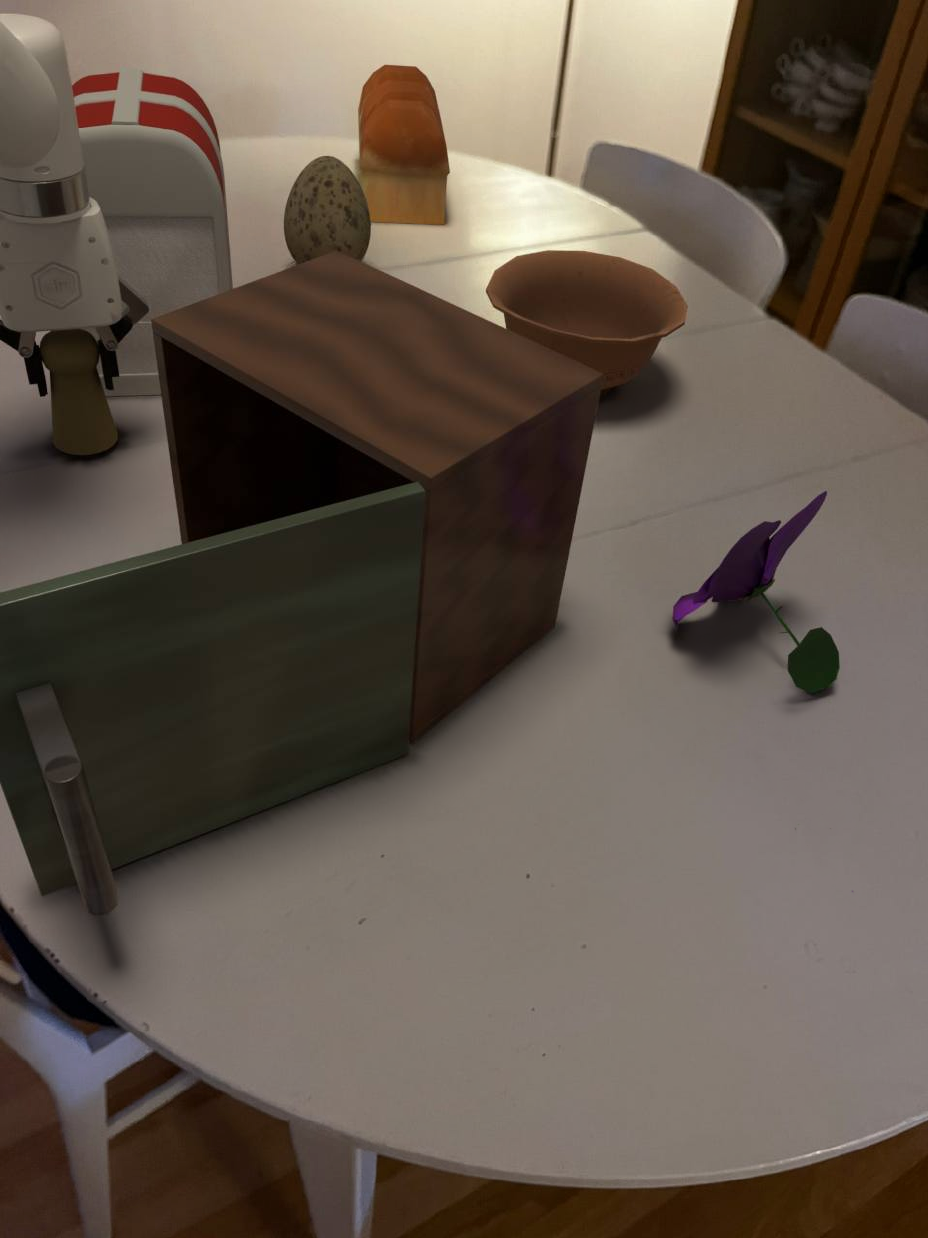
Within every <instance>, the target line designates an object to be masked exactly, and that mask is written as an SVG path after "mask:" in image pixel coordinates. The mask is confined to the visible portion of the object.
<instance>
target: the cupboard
mask: <svg viewBox="0 0 928 1238" xmlns="http://www.w3.org/2000/svg"><path fill="white" fill-rule="evenodd" d="M151 324H152V331H153V338H154V346H155V353H156V360H157V368H158V375H159V382H160V389H161V395H160V396H161V402H162V403H161V404H162V410H163V417H164V426H165V432H166V439H167V446H168V454H169V455H168V456H169V461H170V468H171V469H170V470H171V477H172V482H173V483H172V484H173V490H174V498H175V506H176V512H177V513H176V514H177V520H178V526H179V532H180V534H179V535H180V541H181V544H185V543H189V542H193V541H196V540H200V539H204V538H208V537H211V536H215V535H219V534H223V533H226V532H230V531H234V530H238V529H241V528H245V527H249V526H253V525H256V524H260V523H264V522H268V521H271V520H275V519H279V518H283V517H286V516H290V515H294V514H298V513H301V512H305V511H309V510H313V509H316V508H320V507H324V506H328V505H331V504H335V503H339V502H343V501H346V500H350V499H354V498H358V497H362V496H365V495H369V494H373V493H377V492H380V491H384V490H388V489H392V488H395V487H399V486H403V485H407V484H410V483H414V482H419V484H420V485H421V486H422V487H423V488H424V489H425V504H424V519H423V534H422V549H421V564H420V579H419V594H418V609H417V624H416V639H415V654H414V669H413V684H412V699H411V714H410V729H409V744H410V745H414V743H416V742H417V741H419V739H421V738H422V737H423V736H424V735H426V733H428V732H429V731H430V730H431V729H432V728H434V727H435V726H436V725H437V724H439V723H440V722H441V721H443V719H445V718H446V717H447V716H449V714H450V713H452V712H454V711H455V710H456V709H457V708H458V707H459V706H461V705H462V704H463V703H464V702H465V701H467V700H468V699H469V698H470V697H471V696H473V695H474V694H475V693H476V692H478V691H480V689H481V688H482V687H484V686H485V685H486V684H488V683H489V682H490V681H491V680H492V679H494V678H495V677H496V676H497V675H498V674H499V673H501V672H502V671H503V670H505V669H506V668H507V667H508V666H510V665H511V664H512V663H513V662H514V661H515V660H516V659H518V658H519V657H520V656H522V655H523V654H524V653H525V652H526V651H528V650H529V649H530V648H532V646H533V645H535V644H536V643H537V642H538V641H540V640H541V639H542V638H543V637H545V636H546V635H547V634H548V633H549V632H551V631H552V630H553V629H554V628H555V627H556V622H557V618H558V613H559V609H560V602H561V597H562V592H563V587H564V581H565V577H566V572H567V567H568V561H569V558H570V557H569V556H570V552H571V548H572V547H571V546H572V541H573V535H574V530H575V525H576V519H577V515H578V509H579V505H580V500H581V495H582V489H583V483H584V479H585V473H586V470H587V469H586V468H587V464H588V458H589V453H590V448H591V444H592V443H591V442H592V439H593V434H594V433H593V432H594V428H595V423H596V416H597V412H598V408H599V401H600V398H601V397H600V392H601V386H602V381H603V376H604V374H603V373H601V372H598V371H596V370H594V369H592V368H590V367H588V366H585V365H583V364H581V363H579V362H577V361H575V360H572V359H570V358H568V357H566V356H564V355H562V354H560V353H557V352H555V351H553V350H551V349H549V348H547V347H544V346H542V345H540V344H538V343H536V342H534V341H531V340H529V339H527V338H525V337H523V336H521V335H518V334H516V333H514V332H512V331H510V330H508V329H506V327H503V326H501V325H499V324H497V323H495V322H493V321H490V320H488V319H486V318H484V317H482V316H480V315H477V314H475V313H473V312H471V311H468V310H466V309H464V308H463V307H460V306H458V305H457V304H456V305H455V304H454V303H451V302H450V301H448V300H445V299H443V298H441V297H438V296H437V295H434V294H432V293H430V292H428V291H425V290H423V289H421V288H419V287H417V286H415V285H413V284H411V283H409V282H406V281H404V280H402V279H399V278H397V277H395V276H394V275H391V274H389V273H387V272H384V271H383V270H380V269H378V268H376V267H374V266H372V265H369V264H368V263H365V262H364V261H359V260H356V259H354V258H352V257H350V256H348V255H346V254H344V253H341V252H339V251H334V252H331V253H329V254H326V255H323V256H321V257H318V258H315V259H313V260H310V261H307V262H304V263H302V264H299V265H297V264H296V265H294V266H291V267H289V268H285V269H283V270H280V271H278V272H275V273H272V274H269V275H267V276H264V277H261V278H259V279H255V280H253V281H251V282H248V283H245V284H243V285H240V286H237V287H233V289H231V290H229V291H226V292H223V293H221V294H218V295H215V296H212V297H210V298H207V299H204V300H202V301H199V302H196V303H194V304H191V305H188V306H185V307H183V308H180V309H177V310H175V311H172V312H169V313H166V314H164V315H161V316H158V317H156V318H153V319H151Z"/></svg>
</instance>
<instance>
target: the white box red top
mask: <svg viewBox="0 0 928 1238" xmlns="http://www.w3.org/2000/svg"><path fill="white" fill-rule="evenodd" d="M72 90H73V96H74V103H75V109H76V116H77V122H78V129H79V135H80V142H81V148H82V155H83V161H84V167H85V174H86V180H87V187H88V193H89V197H91V198H92V199H94V200H95V201H96V202H97V203H98V205H99V207H100V209H101V212H102V215H103V217H104V220H105V224H106V227H107V230H108V234H109V238H110V242H111V246H112V251H113V256H114V261H115V266H116V271H117V275H118V276H119V277H121V278H122V279H123V280H124V281H125V282H126V283H127V284H128V285H130V286H131V287H132V288H133V289H134V290H135V291H136V292H137V293H138V294H140V295H141V296H142V297H143V298H144V299H145V300H146V301H147V303H148V307H149V312H148V313H147V314H146V315H145V316H144V317H143V318H142V319H141V320H140V321H139V322H138V323H136V324H134V325H133V327H132V329H131V330H130V332H129V333H128V334H127V335H126V336H125V337H124V338H123V339H122V340H121V342H120V343H119V344H118V348H117V349H116V356H117V363H118V369H119V376H120V377H112V380H113V386H114V390H108V389H106V387H105V382H104V377H103V371H102V365H101V359H100V356H99V363H98V364H97V366H96V368H97V371H98V374H99V377H100V380H101V383H102V386H103V389H104V393H105V396H106V397H126V396H127V397H132V396H133V397H134V396H161V389H160V382H159V375H158V368H157V360H156V353H155V346H154V338H153V331H152V324H151V319H153V318H156V317H158V316H161V315H164V314H166V313H169V312H172V311H175V310H177V309H180V308H183V307H185V306H188V305H191V304H194V303H196V302H199V301H202V300H204V299H207V298H210V297H212V296H215V295H218V294H221V293H223V292H226V291H229V290H231V289H234V284H233V272H232V269H233V268H232V257H231V244H230V243H231V242H230V232H229V231H230V230H229V219H228V218H229V217H228V205H227V195H226V191H227V190H226V180H225V169H224V163H223V158H222V152H221V145H220V139H219V135H218V128H217V126H216V123H215V120H214V117H213V115H212V114H211V111H210V108H209V107H208V105H207V103H206V102H205V101H204V98H203V97H202V96H201V95H200V94H199V93H198V91H197V90H196V89H195V88H194V87H192V86H191V85H190V84H189V83H187V82H186V81H184V80H182V79H181V78H178V77H175V76H171V75H170V76H169V75H164V74H157V73H152V72H146V71H144V70H143V69H133V68H132V69H131V68H127V69H126V68H121V69H119V71H111V72H103V73H92V74H87V75H85V76H82V77H80V78H79V79H77V80H76V81H75V82H74V83H73V84H72ZM121 302H122V312H123V311H124V310H125V308H126V307H127V306H128V305H127V304H126V303H124V302H123V301H122V300H121ZM81 329H83V330H86V331H88V332H89V333H91V334H92V335H93V336H94V338H95V339H96V341H97V343H98V340H100V339H99V335H98V333H97V331H96V329H95V327H93V328H81Z"/></svg>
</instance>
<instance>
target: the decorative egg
mask: <svg viewBox="0 0 928 1238" xmlns="http://www.w3.org/2000/svg"><path fill="white" fill-rule="evenodd" d="M283 234H284V235H283V236H284V239H285V243H286V247H287V250H288V252H289V254H290V256H291V258H292V260H293V261H294V262H295V264H296V265H299V264H302V263H304V262H307V261H310V260H313V259H315V258H318V257H321V256H323V255H326V254H329V253H331V252H334V251H339V252H341V253H344V254H346V255H348V256H350V257H352V258H354V259H356V260H359V261H361V262H363V260H364V259H365V256H366V255H367V252H368V249H369V245H370V242H371V236H372V235H371V234H372V224H371V221H370V213H369V208H368V204H367V201H366V198H365V195H364V192H363V190H362V188H361V186H360V181H359V180H358V178H357V176H356V175H355V174H354V173H353V171H352V170H351V169H350V168H349V167H348V165H347V164H345V163H344V162H343V161H342V160H341V159H339V158H337V157H335V156H332V155H322V156H319V157H317V158H314V159H312V160H311V161H310V162H309V163H308V164H307V165H306V166H305V167H304V168H303V169H302V170H301V171H300V173H299V174H298V175H297V177H296V179H295V181H294V182H293V185H292V187H291V189H290V192H289V194H288V197H287V200H286V203H285V207H284V214H283Z"/></svg>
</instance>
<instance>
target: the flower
mask: <svg viewBox="0 0 928 1238" xmlns="http://www.w3.org/2000/svg"><path fill="white" fill-rule="evenodd" d="M827 495H828V491H827V490H824V491H823V492H821V493H820V494H818V495H817V496H816V497H815V498H814V499H812V500H811V501H810V502H809V503H808V504H807V505H806V506H805V507H804V508H802V509H801V510H800V511H799V512H797V513H795V515H793V516H792V517H791V518H790V519H789V520H788V521H787V522H785V524H783V525H782V526H781V527H780V525H781V524H782V520H780V519H779V520H776V521H766V520H764V521H763V522H761V523H759V524H758V525H756V526H754V527H752V528H751V529H750V530H748V531H747V532H746V533H745V534H743V536H741V537H740V538H739V539H738V540H737V541H736V543H734V545H733V546H732V547H731V548H730V550H729V551H728V552H727V553H726V555H725V556H724V558H723V559H722V561H721V562H720V564H719V566H718V567H717V568H716V569H714V571H713V572H712V573H711V574H710V575H709V576H708V577H707V579H706V580H705V581H704V582H703V583H702V585H701V587H700V588H699V589H698V590H697V591H696V592H695V591H694V592H691V593H688V594H685V595H684V594H683V595H681V596H680V597H679V598H678V600H677V601H676V602H675V603H674V605H673V608H672V617H671V619H672V622H673V625H674V627H675V632H674V633H677V630H678V625H679V623H680V621H682V620H683V619H684V618H685V617H686V616H688V615H690V614H692V613H693V612H695V611H696V610H698V609H699V608H700V607H702V606H704V604H706V603H707V602H708V601H709V600H710V599H711V603H720V602H721V603H722V602H736V601H737V602H738V603H740V602H741V603H744V602H748V601H751V600H754V599H756V598H758V597H759V596H761V597H762V599H763V600H764V602H765V603H766V604H767V606H768V607H769V609H770V610H771V612H772V613H773V614H774V616H775V618H777V620H778V622H780V624H781V625H782V627H783V628H784V629H785V630H786V631H781V632H780V634H789V636H790V638H791V639H792V640H793V642H794V643H795V644H796V647H795V648H794V649H792V651H790V653H789V654H787V672H788V674H789V677H790V678H791V680H792V682H793V684H794V686H795V687H796V688H798V689H800V690H802V691H804V692H806V693H809V694H813V693H816V692H818V691H821V690H824V689H828V687H829V686H830V685H832V684H833V683H834V682H835V681H836V680H837V678H838V675H839V672H840V668H841V665H840V652H839V650H838V646H837V645H836V642H835V640H834V639H833V637H832V635H831V634H830V633H829V632H828V631H827V630H826V629H825V628H823V627H822V626H820V627H816V628H812V629H809V630H808V632H807V633H806V634H805V636H804V637H803V639H802V640H801V641H798V639H797V637H796V636H795V634H794V633H793V632H792V630H791V629H790V627H788V625H787V624H786V623H785V621H784V620H783V618H782V617H781V616H780V614H779V613H778V612H779V610H780V609H782V608H783V605H782V606H779V607H778V608H777V609H775V607H774V606H773V604H772V603H771V602H770V600H769V599H768V597H767V596H766V594H765V592H766V591H768V590H769V589H770V588H771V587H772V586H773V584H774V583H775V581H776V579H775V575H776V572H777V569H778V567H779V565H780V564H781V562H782V560H783V558H784V557H785V555H786V553H787V551H788V550H789V549H790V548H791V546H792V545H793V544H794V543H795V542H796V541H797V539H798V538H799V537H800V535H802V533H803V532H804V531H805V529H806V528H807V527H808V526H809V524H810V523H811V522H812V521H813V519H814V518H815V517H816V515H817V514H818V513H819V512H820V509H821V508H822V506H823V504H824V503H825V500H826V498H827ZM779 527H780V528H779ZM744 599H745V600H744ZM741 600H743V601H741Z"/></svg>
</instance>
